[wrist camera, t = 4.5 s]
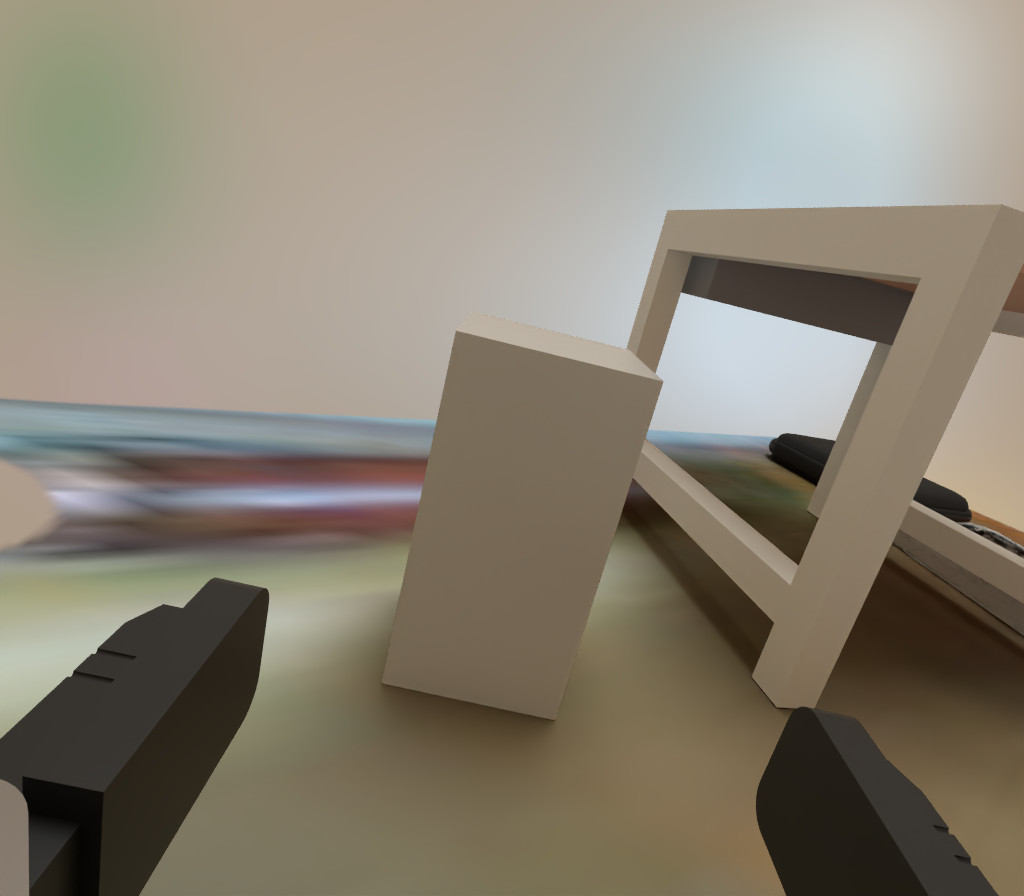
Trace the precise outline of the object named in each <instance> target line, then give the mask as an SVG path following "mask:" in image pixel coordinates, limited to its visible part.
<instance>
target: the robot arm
mask: <svg viewBox="0 0 1024 896" xmlns="http://www.w3.org/2000/svg"><path fill="white" fill-rule="evenodd" d="M268 605H269V592H268V590H267V589H266V588H261V587H257V586H252V585H248V584H243V583H238V582H234V581H229V580H224V579H220V578H213V579H211V580H210V581H209V582H208V583H207V584H206V585H205V586H204V587H203V588H202V589H201V590H200V591H199V592H198V593H197V594H196V595H195V596H194V597H193V598H192V599H191V600H190V601H189V602H188V603H187V604H186V605H185V607H184V608H179V607H174V606H169V605H165V604H163V605H161V606H159V607H157V608H155V609H153V610H151V611H149V612H146V613H144V614H142V615H140V616H138V617H136V618H134V619H132V620H130V621H128V622H126V623H124V624H123V625H122V626H121V627H120V628H119V629H118V630H117V631H116V632H115V633H114V634H113V635H112V636H110V637H109V638H108V639H107V640H106V641H105V642H104V643H103V644H102V645H101V646H100V647H99V648H98V650H97V652H96V654H91V655H90V656H89V657H88V658H87V659H86V660H85V661H84V662H83V663H81V664H80V665H79V666H78V667H77V668H76V669H75V670H74V672H73V675H72V676H71V677H66V678H65V679H64V680H63V681H62V682H61V683H60V684H59V685H58V686H57V687H56V688H55V689H54V690H52V691H51V692H50V693H49V694H48V695H47V696H46V697H45V698H44V699H43V700H42V701H41V702H40V703H39V704H37V705H36V706H35V707H34V708H33V709H32V710H31V711H30V712H29V713H28V714H27V715H26V716H25V717H23V718H22V719H21V720H20V721H19V722H18V723H17V724H16V725H15V726H14V727H13V728H12V729H11V730H10V731H8V732H7V733H6V734H5V735H4V736H3V737H2V738H1V739H0V896H139V894H140V893H141V891H142V889H143V888H144V886H145V884H146V883H147V881H148V879H149V878H150V876H151V874H152V873H153V871H154V869H155V868H156V866H157V864H158V863H159V861H160V859H161V858H162V856H163V854H164V853H165V851H166V849H167V848H168V846H169V844H170V843H171V841H172V839H173V838H174V836H175V834H176V833H177V831H178V829H179V828H180V826H181V824H182V823H183V821H184V819H185V818H186V816H187V814H188V813H189V811H190V809H191V808H192V806H193V804H194V803H195V801H196V799H197V798H198V796H199V794H200V793H201V791H202V789H203V788H204V786H205V784H206V783H207V781H208V779H209V778H210V776H211V774H212V773H213V771H214V769H215V768H216V766H217V764H218V763H219V761H220V759H221V758H222V756H223V754H224V753H225V751H226V749H227V748H228V746H229V744H230V743H231V741H232V739H233V738H234V736H235V734H236V732H237V731H238V729H239V727H240V726H241V724H242V722H243V721H244V719H245V717H246V715H247V712H248V710H249V708H250V705H251V703H252V700H253V697H254V694H255V691H256V687H257V683H258V678H259V672H260V665H261V657H262V650H263V642H264V635H265V628H266V620H267V613H268ZM756 814H757V821H758V825H759V829H760V832H761V834H762V837H763V839H764V842H765V844H766V847H767V849H768V851H769V854H770V856H771V859H772V861H773V864H774V866H775V869H776V871H777V874H778V876H779V879H780V881H781V884H782V886H783V888H784V891H785V893H786V896H998V894H997V893H996V892H995V890H994V889H993V888H992V886H991V885H990V883H989V882H988V881H987V879H986V878H985V877H984V875H983V874H982V873H981V871H980V870H979V868H978V867H977V866H973V865H971V861H970V860H971V858H970V856H969V855H968V853H967V852H966V851H965V849H964V848H963V847H962V845H961V844H960V843H959V841H958V840H957V838H956V837H955V836H954V835H951V834H949V832H948V829H949V828H948V826H947V825H946V824H945V822H944V821H943V819H942V818H941V817H940V815H939V814H938V813H937V811H936V810H935V809H934V807H933V806H932V804H931V803H930V802H929V800H928V799H927V798H926V796H925V795H924V794H923V792H922V791H920V790H919V789H918V788H917V787H916V786H915V785H914V784H913V783H912V782H911V781H910V780H909V779H907V778H906V777H905V776H904V775H903V774H902V773H901V772H900V771H899V770H898V769H897V768H896V767H894V766H893V765H892V764H891V763H890V762H889V761H888V760H886V758H885V757H884V756H883V754H882V753H881V751H880V750H879V749H878V747H877V746H876V744H875V743H874V742H873V740H872V739H871V737H870V736H869V734H868V733H867V732H866V730H865V729H864V727H863V726H862V725H861V724H860V722H859V721H857V720H856V719H855V718H853V717H850V716H846V715H841V714H836V713H832V712H827V711H823V710H818V709H813V708H809V707H804V706H802V707H799V708H797V709H795V710H794V711H793V712H792V714H791V715H790V717H789V719H788V721H787V723H786V726H785V728H784V730H783V732H782V734H781V737H780V739H779V741H778V743H777V745H776V748H775V750H774V752H773V754H772V756H771V758H770V761H769V763H768V765H767V767H766V769H765V772H764V774H763V776H762V778H761V780H760V783H759V786H758V790H757V796H756Z"/></svg>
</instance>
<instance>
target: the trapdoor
mask: <svg viewBox="0 0 1024 896" xmlns="http://www.w3.org/2000/svg"><path fill="white" fill-rule="evenodd" d="M917 286H918V284H913V283H905V282H897V281H889V280H881V279H874V278H866V277H858V276H850V275H842V274H834V273H826V272H818V271H810V270H803V269H795V268H787V267H779V266H771V265H763V264H755V263H747V262H739V261H732V260H724V259H716V258H708V257H700V256H692V258H691V261H690V265H689V268H688V271H687V274H686V277H685V281H684V284H683V287H682V290H681V292H682V293H686V294H690V295H694V296H697V297H701V298H706V299H709V300H713V301H718V302H721V303H725V304H730V305H733V306H737V307H741V308H745V309H749V310H753V311H757V312H761V313H765V314H769V315H773V316H777V317H781V318H784V319H788V320H792V321H797V322H800V323H804V324H809V325H813V326H816V327H820V328H824V329H828V330H832V331H836V332H840V333H844V334H848V335H852V336H856V337H860V338H864V339H868V340H871V341H876V342H879V343H883V344H887V345H891V346H892V345H893V343H894V340H895V338H896V336H897V333H898V331H899V329H900V326H901V324H902V322H903V319H904V317H905V314H906V312H907V310H908V307H909V305H910V303H911V300H912V298H913V296H914V293H915V291H916V289H917ZM1002 310H1004V311H1011V312H1017V313H1024V263H1023V265H1022V268H1021V270H1020V272H1019V274H1018V276H1017V278H1016V280H1015V282H1014V285H1013V287H1012V289H1011V291H1010V293H1009V295H1008V297H1007V299H1006V302H1005V304H1004V306H1003V308H1002Z"/></svg>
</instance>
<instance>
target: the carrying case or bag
mask: <svg viewBox="0 0 1024 896" xmlns="http://www.w3.org/2000/svg"><path fill="white" fill-rule="evenodd" d="M834 444H835V441H833V440H827V439H821V438H815V437H808V436H803V435H797V434H789V433H786V434H782V435H780V436H779V437H778V438H776V439H773V440H772V441H771V442H770V444H769V449H770V451H771V452H772V457H773V459H774V460H775V461H777V462H779V463H780V464H782V465H784V466H786V467H787V468H789V469H791V470H793V471H795V472H796V473H798V474H800V475H802V476H803V477H805V478H807V479H809V480H811V481H812V482H814V483H816V484H818V482H819V480H820V477H821V475H822V473H823V470H824V468H825V465H826V463H827V461H828V458H829V456H830V453H831V451H832V449H833V446H834ZM913 500H914V501H916V502H918V503H920V504H922V505H924V506H925V507H927V508H929V509H931V510H933V511H935V512H937V513H939V514H940V515H942V516H944V517H946V518H948V519H950V520H952V521H954V522H957V523H958V522H961V523H963V522H967V523H969V522H970V520H971V518H972V516H971V515H972V513H971V511H970V510H969V509H968V503H967V501H966V499H965V498H963V497H962V496H961V495H959V494H957V493H956V492H954V491H952V490H949V489H947V488H945V487H943V486H940V485H938V484H936V483H934V482H932V481H930V480H927V479H925V478H922V480H921V483H920V485H919V487H918V489H917V491H916V493H915V495H914V497H913Z"/></svg>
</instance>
